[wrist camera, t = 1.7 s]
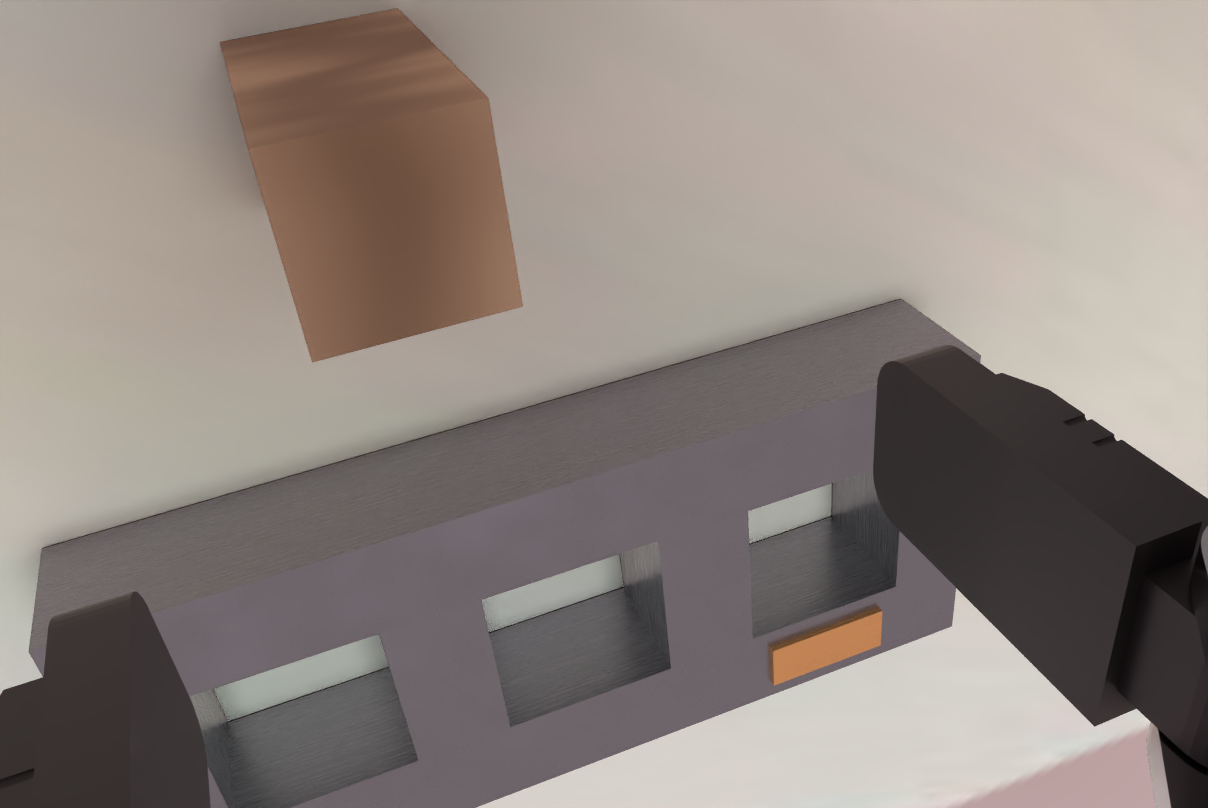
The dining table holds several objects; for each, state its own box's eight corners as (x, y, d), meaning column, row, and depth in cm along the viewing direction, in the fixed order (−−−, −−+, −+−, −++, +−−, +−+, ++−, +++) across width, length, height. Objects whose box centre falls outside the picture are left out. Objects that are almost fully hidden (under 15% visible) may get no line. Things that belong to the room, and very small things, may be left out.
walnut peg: (397, 8, 24) (487, 97, 18) (431, 173, 26) (523, 306, 20) (219, 42, 23) (248, 149, 17) (270, 210, 26) (311, 362, 19)
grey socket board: (901, 298, 34) (985, 358, 31) (887, 556, 40) (955, 630, 37) (41, 548, 28) (27, 658, 24) (178, 808, 34) (182, 925, 30)
